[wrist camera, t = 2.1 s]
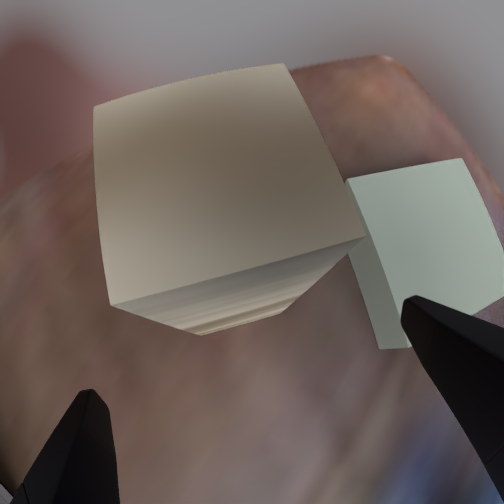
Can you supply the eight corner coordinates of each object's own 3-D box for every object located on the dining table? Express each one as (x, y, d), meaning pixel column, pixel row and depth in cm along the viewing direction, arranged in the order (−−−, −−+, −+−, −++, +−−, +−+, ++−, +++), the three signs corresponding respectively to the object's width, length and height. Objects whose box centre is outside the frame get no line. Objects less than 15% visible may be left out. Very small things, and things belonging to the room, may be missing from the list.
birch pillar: (280, 313, 19) (365, 235, 6) (200, 335, 19) (110, 305, 5) (257, 237, 21) (283, 62, 7) (180, 258, 20) (93, 106, 7)
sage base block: (481, 298, 20) (515, 288, 16) (379, 349, 19) (408, 347, 15) (436, 182, 23) (461, 157, 19) (330, 207, 22) (347, 178, 18)
